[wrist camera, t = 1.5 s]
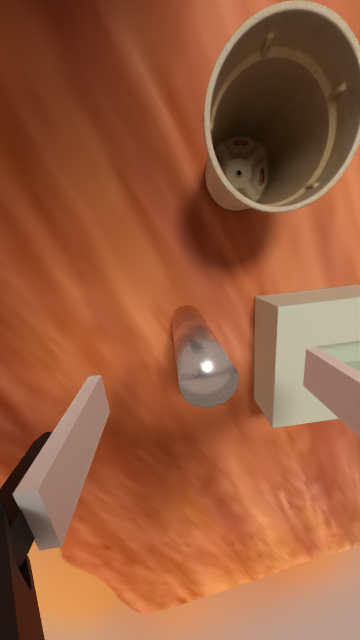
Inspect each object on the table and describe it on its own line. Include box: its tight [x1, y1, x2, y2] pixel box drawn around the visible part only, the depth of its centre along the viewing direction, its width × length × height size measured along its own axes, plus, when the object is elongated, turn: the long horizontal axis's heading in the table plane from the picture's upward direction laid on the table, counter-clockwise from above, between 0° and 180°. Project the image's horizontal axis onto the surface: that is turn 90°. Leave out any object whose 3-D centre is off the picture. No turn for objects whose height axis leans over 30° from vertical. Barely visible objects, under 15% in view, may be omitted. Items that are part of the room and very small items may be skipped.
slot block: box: [254, 284, 360, 428], centre depth 24 cm, size 14×20×5 cm
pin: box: [171, 306, 238, 407], centre depth 18 cm, size 4×4×12 cm
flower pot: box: [204, 0, 360, 213], centre depth 16 cm, size 9×9×9 cm
